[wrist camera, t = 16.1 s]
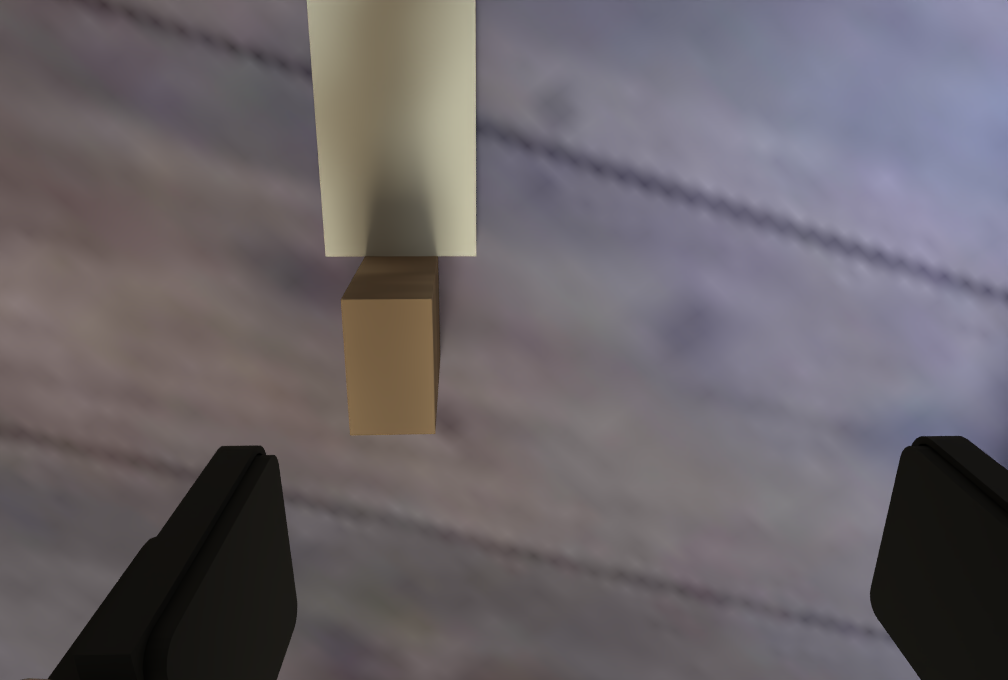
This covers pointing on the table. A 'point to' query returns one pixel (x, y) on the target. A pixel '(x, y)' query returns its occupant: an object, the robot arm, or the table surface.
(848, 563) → the table surface
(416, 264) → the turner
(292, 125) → the table surface
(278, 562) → the robot arm
